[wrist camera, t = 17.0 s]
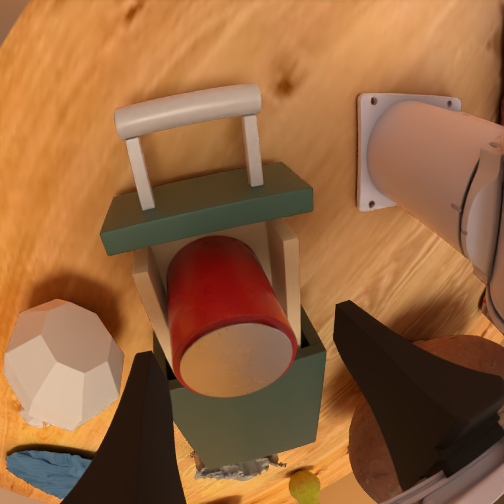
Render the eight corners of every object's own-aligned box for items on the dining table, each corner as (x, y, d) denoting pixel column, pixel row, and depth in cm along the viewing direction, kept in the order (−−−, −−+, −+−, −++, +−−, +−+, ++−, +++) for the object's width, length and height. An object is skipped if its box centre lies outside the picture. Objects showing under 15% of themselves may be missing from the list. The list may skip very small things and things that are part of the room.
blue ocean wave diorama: (103, 504, 47) (104, 525, 42) (-20, 452, 30) (-23, 478, 25) (215, 487, 44) (221, 512, 40) (72, 430, 27) (69, 471, 23)
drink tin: (255, 225, 18) (299, 303, 12) (263, 301, 21) (298, 383, 15) (155, 247, 17) (155, 336, 11) (179, 321, 20) (190, 410, 14)
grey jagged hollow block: (282, 440, 38) (291, 465, 34) (247, 462, 40) (254, 485, 37) (217, 432, 33) (224, 463, 29) (184, 456, 35) (189, 483, 31)
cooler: (152, 324, 22) (155, 393, 17) (293, 291, 24) (326, 350, 19) (198, 418, 30) (207, 469, 25) (295, 394, 32) (315, 441, 27)
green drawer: (91, 113, 13) (67, 126, 10) (274, 77, 15) (307, 80, 11) (173, 360, 23) (178, 406, 20) (291, 332, 25) (311, 373, 21)
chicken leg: (-5, 375, 22) (11, 456, 18) (6, 266, 14) (18, 413, 10) (66, 376, 28) (86, 450, 24) (125, 280, 20) (163, 400, 16)
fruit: (294, 466, 46) (316, 524, 36) (319, 463, 48) (342, 516, 38) (277, 478, 48) (296, 532, 38) (302, 475, 50) (321, 526, 40)
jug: (286, 383, 30) (400, 644, 5) (459, 255, 27) (638, 468, 2) (353, 427, 42) (430, 582, 17) (467, 344, 39) (567, 483, 14)
